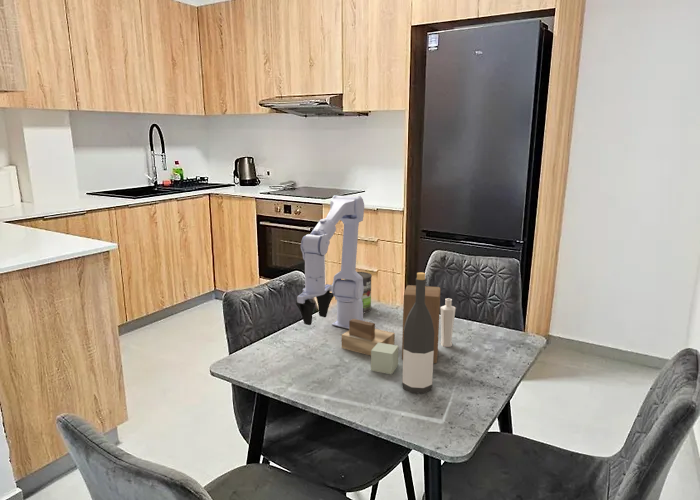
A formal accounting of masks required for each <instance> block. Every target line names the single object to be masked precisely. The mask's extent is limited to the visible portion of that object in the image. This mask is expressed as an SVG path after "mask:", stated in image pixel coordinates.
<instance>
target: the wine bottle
mask: <svg viewBox="0 0 700 500" xmlns="http://www.w3.org/2000/svg"><path fill="white" fill-rule="evenodd" d="M426 282H427V278H426V273H425V272H423V271H422V272H416V278H415V286H416V299H415V304H414V305H413V307H412V309H411V310H410V312H409V314H408V316H407V319H406V322H405V326H404V347H403V360H402V384H401V385H402V389H404V390H405V391H407V392H409V393H411V394H425V393H427V392H429V391H430V392H431V391H432V389H433V374H434V372H433V371H434V363H433V354H434V327H433V321H432V318H431V315H430V313H429V311H428V309H427V307H426V304H425V286H426Z"/></svg>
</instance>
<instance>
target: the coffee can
mask: <svg viewBox="0 0 700 500" xmlns="http://www.w3.org/2000/svg"><path fill="white" fill-rule="evenodd" d="M356 272H357V273H358V274H359V275H361V276H362V277H363V286H364V291H363V296H362V297H361V300H362V302H363V314H365V313H369V312H370V311H371V310H372V276H373V275H372V273H369V272H367V271H356ZM343 280H348V279H343ZM350 281H353V280H350ZM369 310H370V311H369ZM364 312H365V313H364Z"/></svg>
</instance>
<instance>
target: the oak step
mask: <svg viewBox="0 0 700 500" xmlns="http://www.w3.org/2000/svg"><path fill="white" fill-rule="evenodd" d="M395 335H396V333H395V332H391V331H388V330H383V329H379V328H375V339H374V340H373V341H372V342H370V341H366V340H361V339H357V338H353V337H349V330H346V331H345V332H344V333H343V334H342V333H341V349H344V350H348V351H352V352H356V353H360V354H364V355H367V356H370V357H371V350H372V349H373V348H374V347H375V346H376V344H377V343H385V344H391V345H395V341H396V340H395V339H396V337H395Z"/></svg>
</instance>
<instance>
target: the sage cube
mask: <svg viewBox="0 0 700 500" xmlns="http://www.w3.org/2000/svg"><path fill="white" fill-rule="evenodd" d="M399 349H400V347H399V345H398V344H397V345H395V344H394V345H391V344H385V343H377V344H376V346H375V347H374V348H373V349H372V350H371V356H370V371H371V372H378V373H383V374H387V375H388V374H389V375H393V373H394V372H395V371H396V369H397V368H398V367H399Z"/></svg>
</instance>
